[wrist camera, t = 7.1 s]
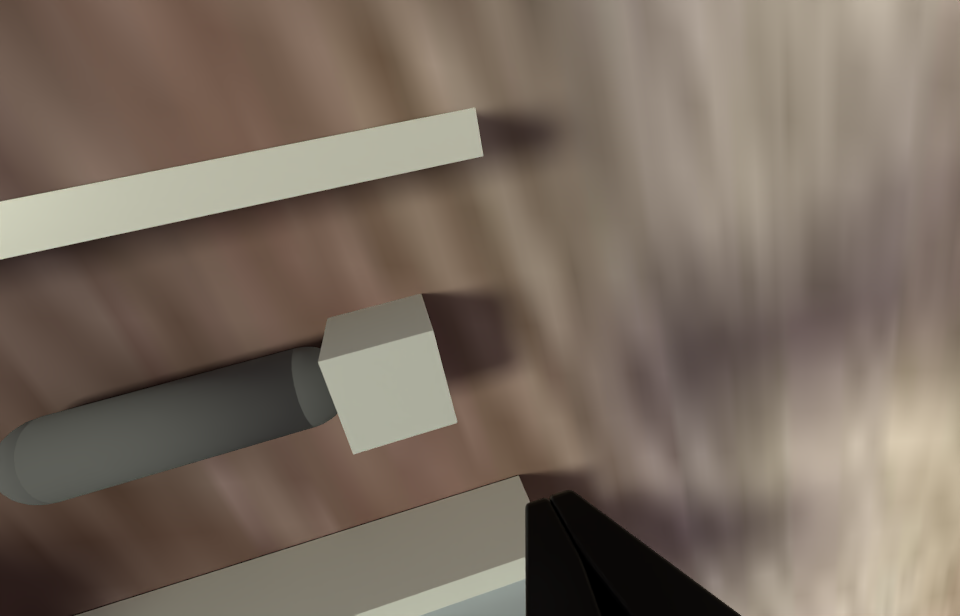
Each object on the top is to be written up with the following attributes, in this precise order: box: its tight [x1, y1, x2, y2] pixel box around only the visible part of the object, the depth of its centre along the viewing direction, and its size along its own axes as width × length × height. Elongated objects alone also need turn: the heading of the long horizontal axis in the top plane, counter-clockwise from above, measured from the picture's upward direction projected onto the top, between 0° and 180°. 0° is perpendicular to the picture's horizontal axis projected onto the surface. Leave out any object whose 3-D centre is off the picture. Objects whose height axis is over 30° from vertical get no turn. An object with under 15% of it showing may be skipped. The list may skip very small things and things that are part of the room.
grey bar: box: [0, 294, 457, 505], centre depth 13 cm, size 3×12×3 cm, turn 101°
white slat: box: [0, 108, 530, 616], centre depth 13 cm, size 14×18×4 cm
